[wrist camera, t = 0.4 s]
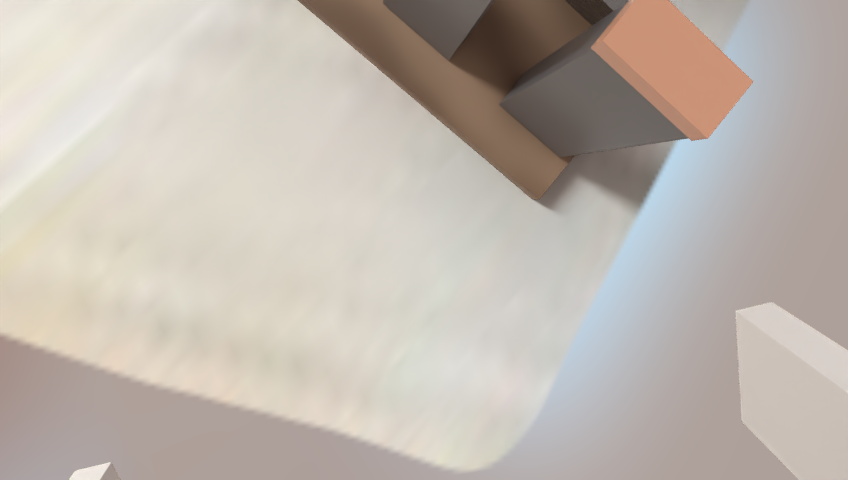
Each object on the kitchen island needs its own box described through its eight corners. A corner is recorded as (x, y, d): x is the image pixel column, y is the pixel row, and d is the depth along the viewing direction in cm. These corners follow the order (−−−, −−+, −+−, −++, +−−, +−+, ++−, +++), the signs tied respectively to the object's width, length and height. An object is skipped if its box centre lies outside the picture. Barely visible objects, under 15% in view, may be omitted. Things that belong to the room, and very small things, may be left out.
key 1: (560, 159, 35) (708, 138, 20) (497, 104, 34) (602, 41, 19) (586, 126, 35) (753, 81, 20) (524, 70, 34) (649, -18, 19)
